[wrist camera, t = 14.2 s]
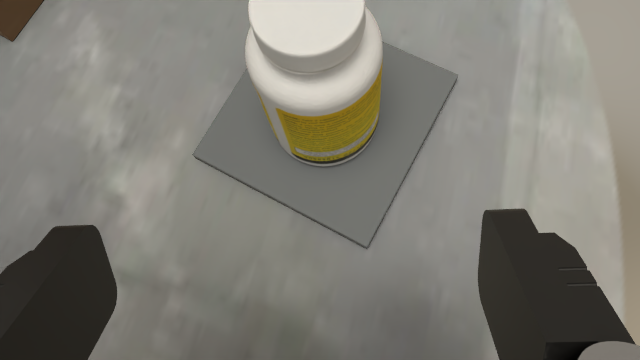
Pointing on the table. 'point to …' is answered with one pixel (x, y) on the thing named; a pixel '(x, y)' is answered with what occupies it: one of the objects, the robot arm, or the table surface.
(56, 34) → the table surface
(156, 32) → the table surface
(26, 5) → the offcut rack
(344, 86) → the supplement bottle
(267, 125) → the charcoal pad
